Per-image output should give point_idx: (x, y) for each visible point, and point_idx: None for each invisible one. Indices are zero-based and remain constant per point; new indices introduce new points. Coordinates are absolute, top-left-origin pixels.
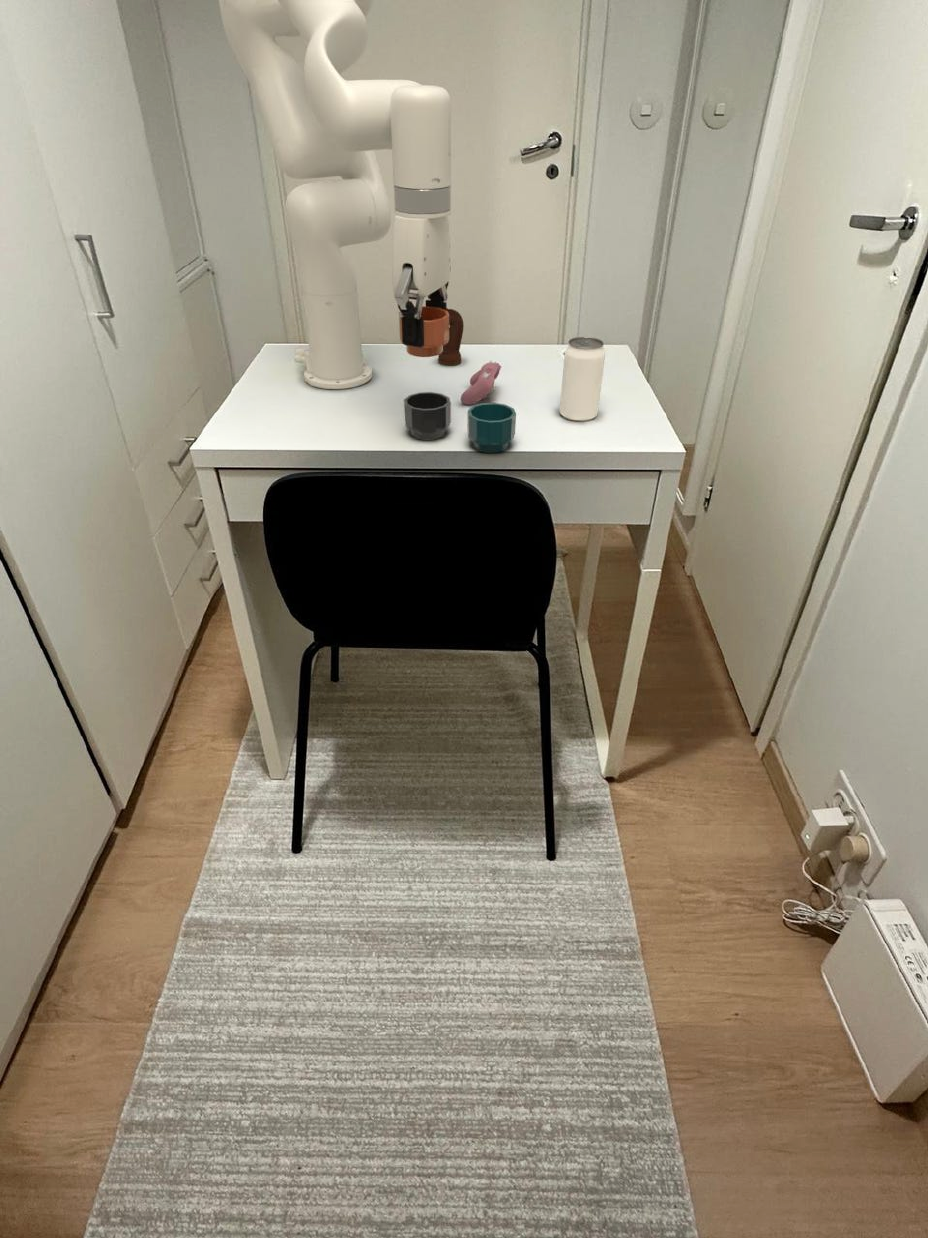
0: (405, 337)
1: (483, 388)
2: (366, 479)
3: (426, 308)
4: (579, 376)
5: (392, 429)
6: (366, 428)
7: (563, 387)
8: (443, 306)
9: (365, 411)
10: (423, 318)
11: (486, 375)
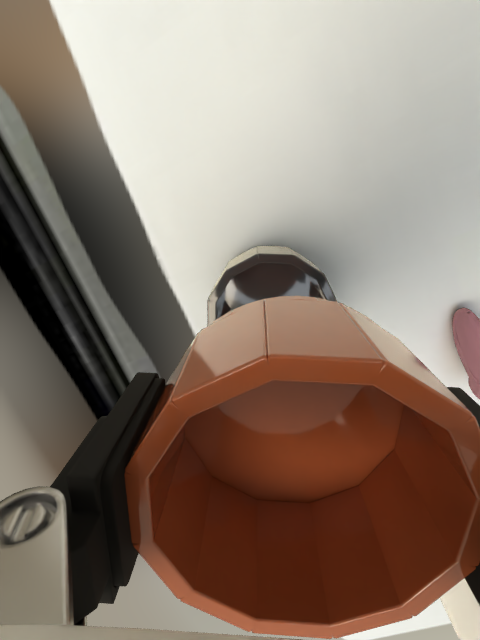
0: (98, 420)
1: (473, 380)
2: (17, 263)
3: (467, 483)
4: (456, 625)
5: (259, 205)
6: (241, 134)
7: None
8: (477, 599)
9: (347, 70)
10: (111, 598)
11: None
